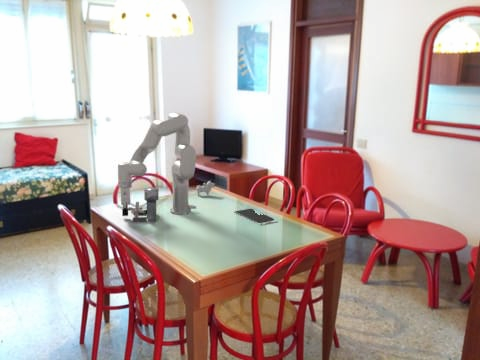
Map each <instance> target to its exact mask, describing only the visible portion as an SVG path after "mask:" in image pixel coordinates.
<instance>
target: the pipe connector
mask: <svg viewBox="0 0 480 360" xmlns="http://www.w3.org/2000/svg"><path fill="white" fill-rule="evenodd" d="M145 210H146V209H143V207H142V206H140V201H137V200H136V201H135V206H134V207H131V206H128V211H131V212H130V213H131V214H132V215H133V214H134V213H135V215H134V217H139V215H138V212H140V213H145Z"/></svg>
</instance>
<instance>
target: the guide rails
mask: <svg viewBox="0 0 480 360" xmlns="http://www.w3.org/2000/svg"><path fill="white" fill-rule="evenodd" d="M144 210H145V213H140V212H138V217H135V213H134V214H132V215H133V216H134V217H132V223H148V222H147V216H143V217H142V216H140V217H139V215H147V209H144Z"/></svg>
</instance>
